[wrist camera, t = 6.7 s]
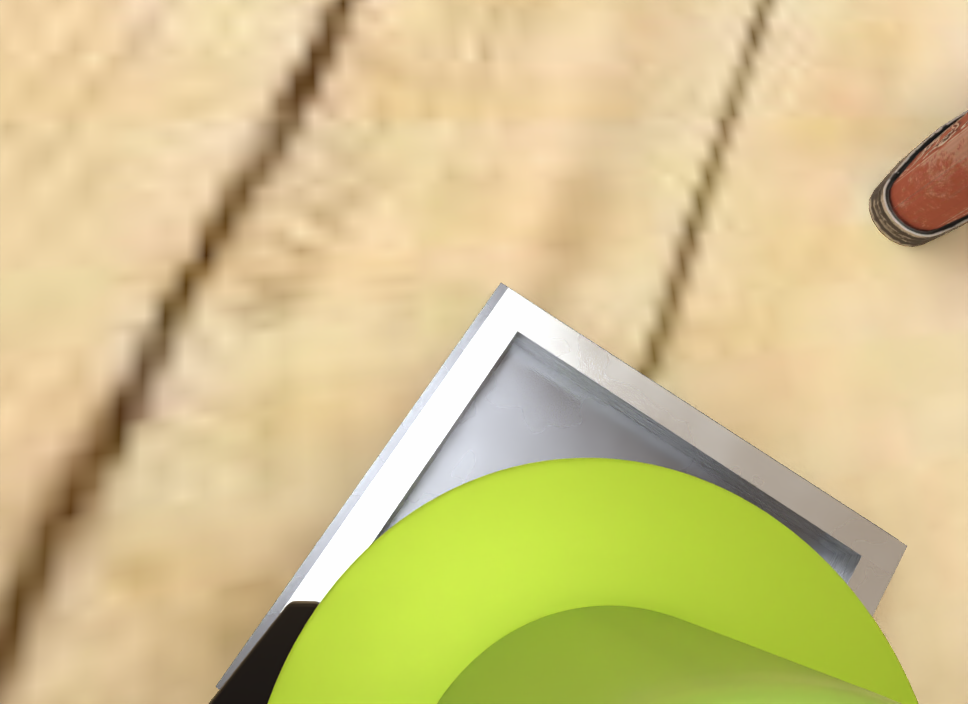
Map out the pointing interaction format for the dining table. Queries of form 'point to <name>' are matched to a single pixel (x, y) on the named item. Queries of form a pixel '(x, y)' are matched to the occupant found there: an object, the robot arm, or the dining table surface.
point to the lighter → (926, 188)
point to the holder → (568, 448)
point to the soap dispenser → (590, 602)
